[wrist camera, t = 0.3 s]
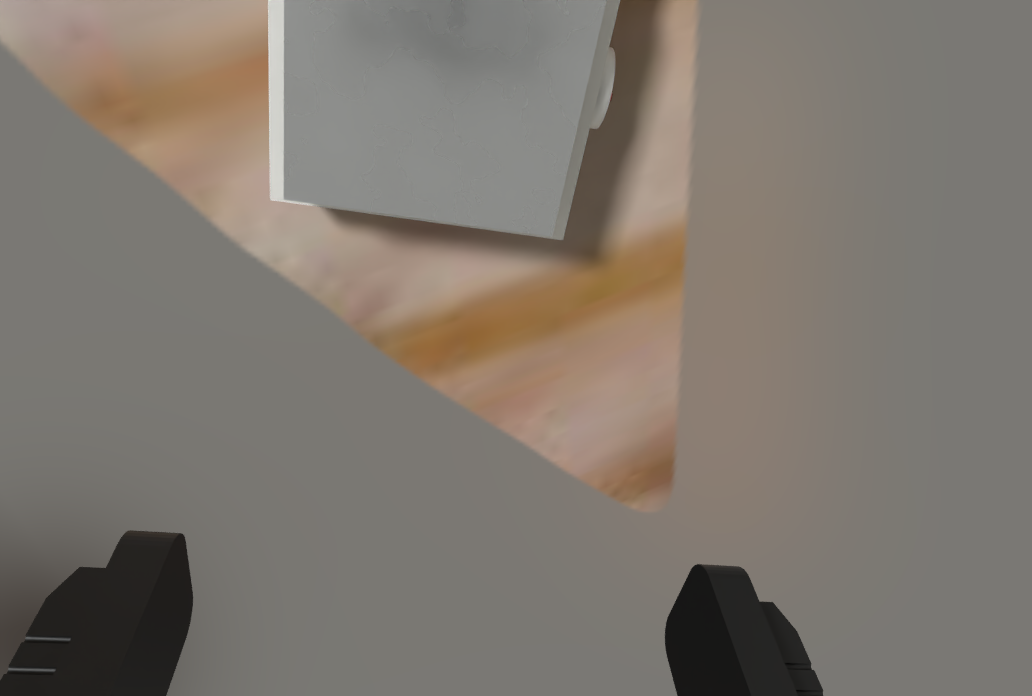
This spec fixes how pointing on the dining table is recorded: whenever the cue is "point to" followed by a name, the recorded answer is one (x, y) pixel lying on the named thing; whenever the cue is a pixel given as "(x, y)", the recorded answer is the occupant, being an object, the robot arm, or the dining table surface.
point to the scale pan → (436, 106)
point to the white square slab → (590, 117)
